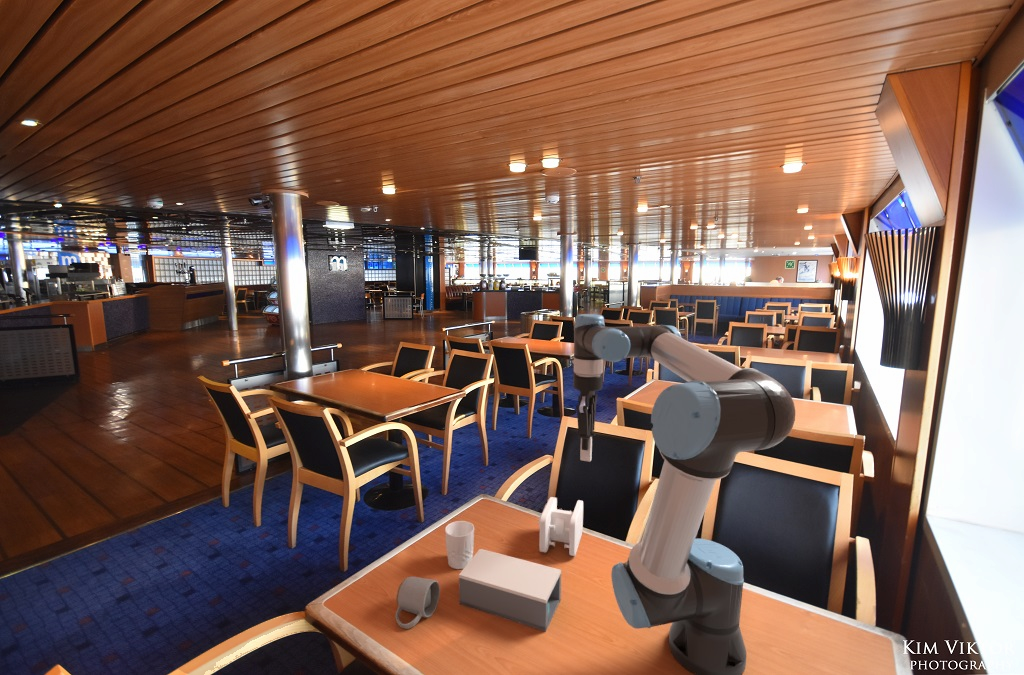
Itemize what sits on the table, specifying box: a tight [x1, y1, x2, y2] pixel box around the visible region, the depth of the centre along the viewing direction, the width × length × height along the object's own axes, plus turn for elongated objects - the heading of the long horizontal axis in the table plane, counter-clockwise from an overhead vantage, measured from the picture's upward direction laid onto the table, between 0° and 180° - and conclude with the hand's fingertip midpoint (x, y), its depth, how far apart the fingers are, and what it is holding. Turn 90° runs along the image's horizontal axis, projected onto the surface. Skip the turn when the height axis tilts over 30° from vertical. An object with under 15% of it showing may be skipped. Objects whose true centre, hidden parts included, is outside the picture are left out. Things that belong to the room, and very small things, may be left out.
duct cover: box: [458, 548, 562, 603], centre depth 114 cm, size 22×11×1 cm, turn 67°
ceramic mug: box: [395, 576, 441, 630], centre depth 111 cm, size 11×8×8 cm
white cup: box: [444, 520, 475, 570], centre depth 130 cm, size 8×8×10 cm
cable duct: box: [458, 573, 562, 632], centre depth 114 cm, size 22×11×7 cm, turn 67°
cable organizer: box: [537, 496, 584, 557], centre depth 138 cm, size 15×11×12 cm
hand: (585, 459), depth 127 cm, fingers closed
